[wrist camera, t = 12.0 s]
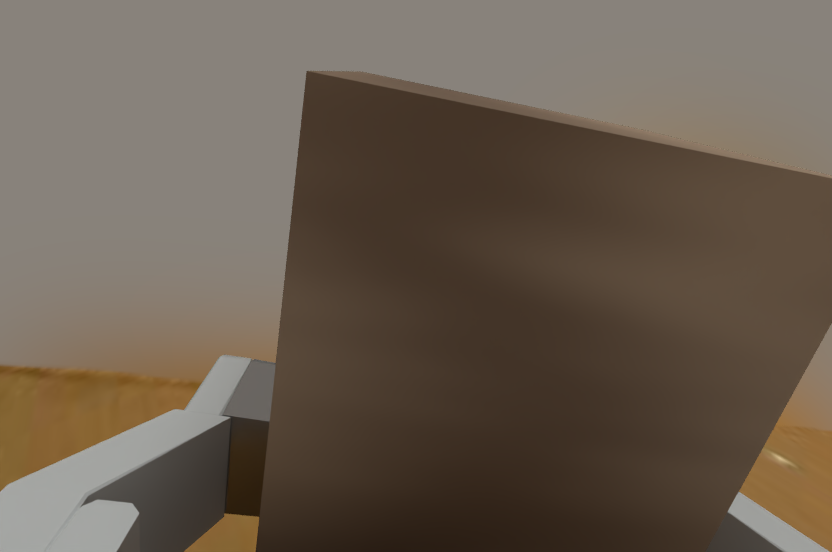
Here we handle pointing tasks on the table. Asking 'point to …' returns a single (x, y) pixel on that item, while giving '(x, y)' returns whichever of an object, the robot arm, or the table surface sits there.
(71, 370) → the table surface
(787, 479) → the table surface
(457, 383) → the pillar
